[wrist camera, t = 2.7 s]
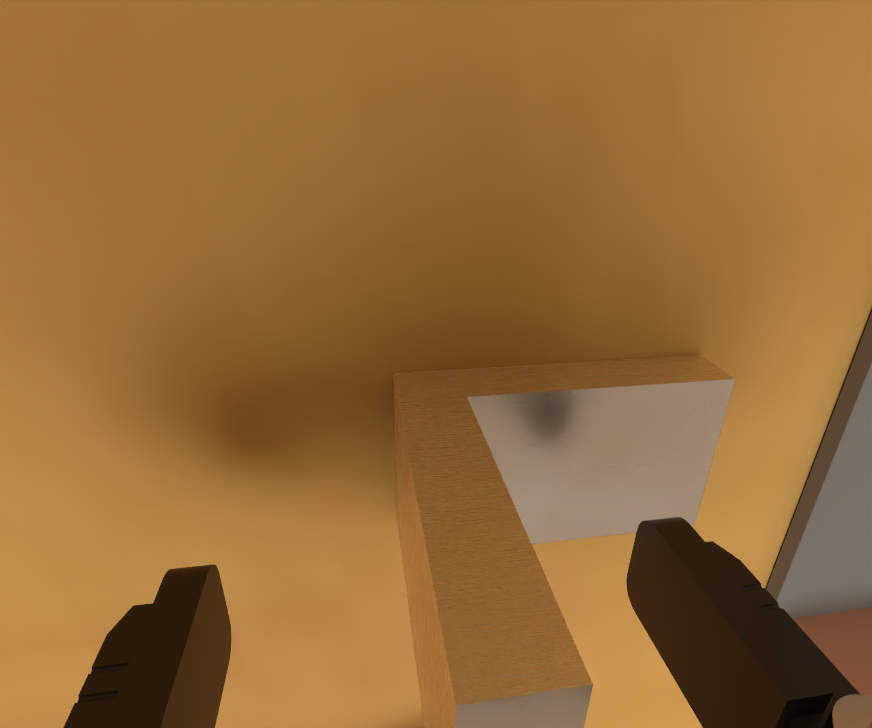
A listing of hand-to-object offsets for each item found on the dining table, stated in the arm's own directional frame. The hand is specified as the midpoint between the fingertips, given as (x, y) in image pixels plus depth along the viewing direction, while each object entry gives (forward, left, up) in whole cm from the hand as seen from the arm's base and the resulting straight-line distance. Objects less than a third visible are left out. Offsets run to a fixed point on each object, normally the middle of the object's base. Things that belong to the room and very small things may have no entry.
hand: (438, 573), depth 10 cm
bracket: (0, +3, -4) cm, 5 cm away
